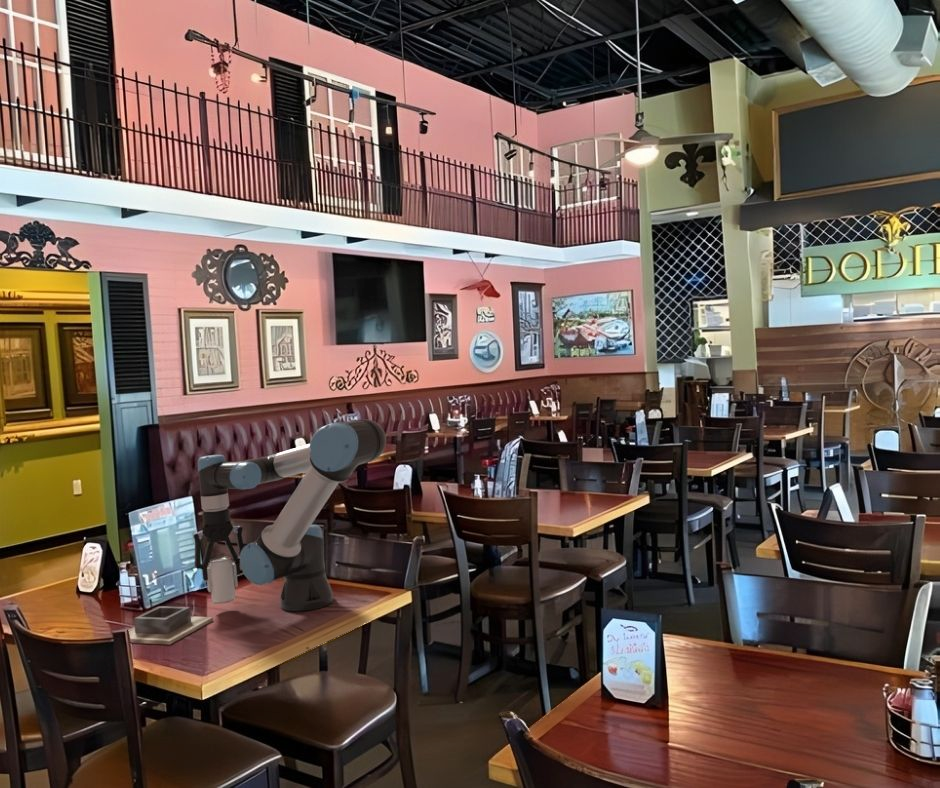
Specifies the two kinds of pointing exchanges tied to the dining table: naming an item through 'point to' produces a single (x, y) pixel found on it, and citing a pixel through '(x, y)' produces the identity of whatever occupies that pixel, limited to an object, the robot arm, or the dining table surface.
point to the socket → (165, 625)
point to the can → (222, 580)
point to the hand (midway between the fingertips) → (222, 588)
